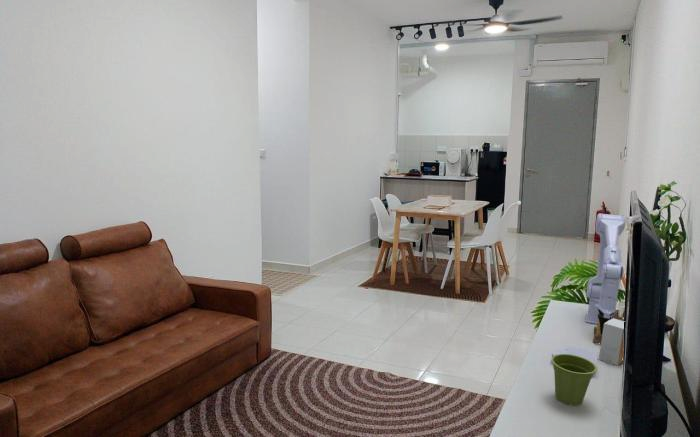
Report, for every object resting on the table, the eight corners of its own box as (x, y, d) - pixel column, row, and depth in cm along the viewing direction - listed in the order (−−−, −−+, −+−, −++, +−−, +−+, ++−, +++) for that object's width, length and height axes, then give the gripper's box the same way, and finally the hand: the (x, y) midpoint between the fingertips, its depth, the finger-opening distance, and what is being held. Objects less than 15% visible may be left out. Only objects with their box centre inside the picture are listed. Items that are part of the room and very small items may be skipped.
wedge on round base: (594, 365, 171) (552, 356, 176) (597, 346, 169) (554, 337, 175) (593, 377, 163) (549, 366, 168) (596, 357, 161) (552, 347, 167)
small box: (617, 366, 171) (623, 329, 169) (598, 359, 176) (603, 323, 173) (626, 359, 177) (632, 323, 174) (607, 353, 181) (612, 317, 179)
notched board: (593, 332, 199) (594, 326, 199) (615, 336, 196) (616, 330, 196) (593, 342, 189) (594, 336, 189) (616, 347, 186) (617, 340, 186)
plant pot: (540, 399, 147) (545, 362, 145) (555, 385, 156) (560, 350, 154) (583, 416, 140) (589, 377, 138) (597, 400, 149) (602, 363, 147)
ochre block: (595, 336, 196) (598, 318, 194) (607, 338, 194) (610, 320, 193) (595, 339, 192) (598, 322, 191) (607, 342, 190) (610, 324, 189)
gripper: (596, 288, 198) (591, 322, 200) (596, 299, 185) (591, 335, 187) (617, 291, 195) (612, 325, 198) (618, 302, 182) (613, 339, 185)
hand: (603, 330), depth 192 cm, fingers open, 7 cm apart
